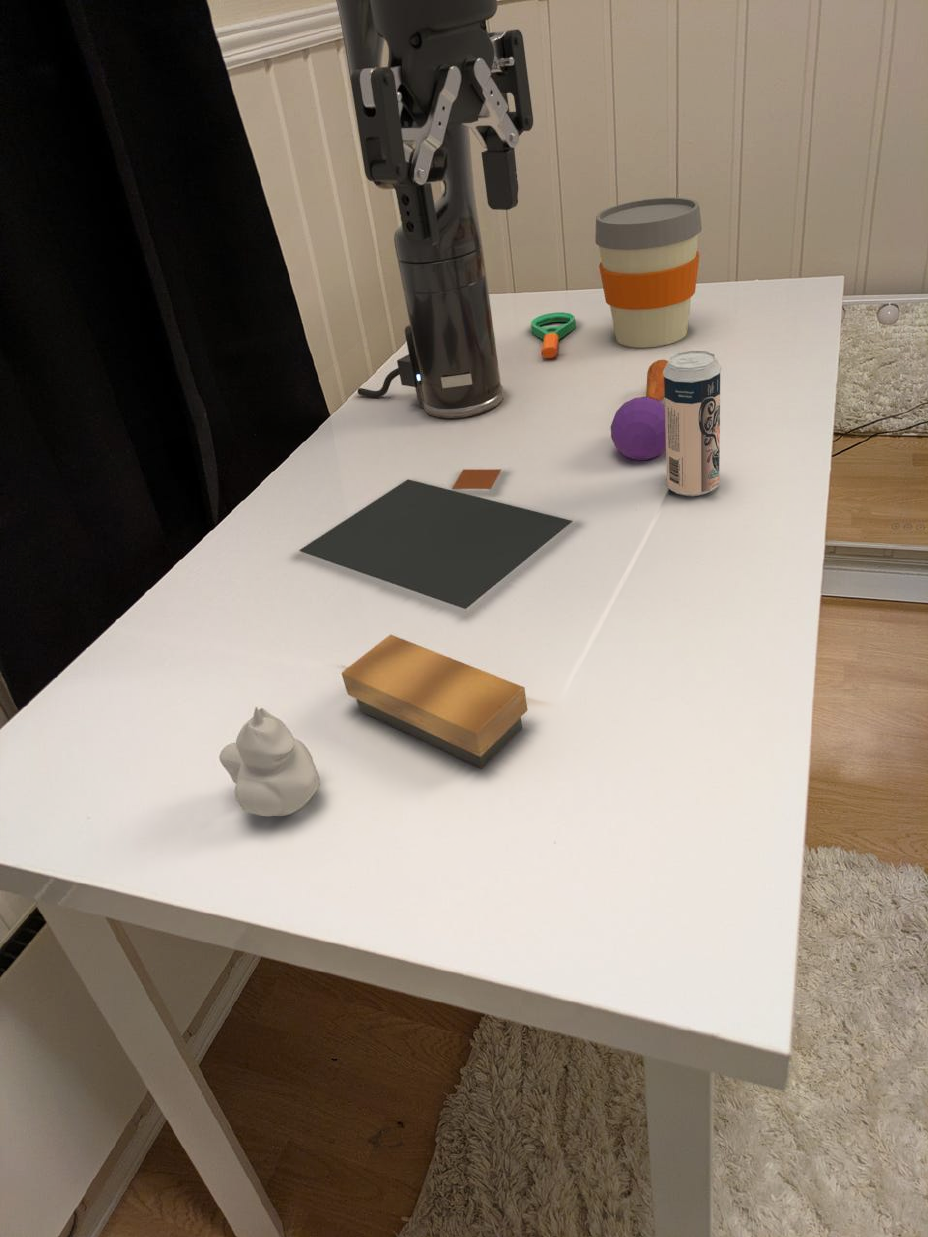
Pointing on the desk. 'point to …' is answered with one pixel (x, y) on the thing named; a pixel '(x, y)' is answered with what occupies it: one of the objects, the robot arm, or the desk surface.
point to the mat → (437, 541)
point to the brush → (437, 699)
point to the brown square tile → (476, 479)
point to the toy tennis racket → (552, 330)
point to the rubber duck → (270, 767)
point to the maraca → (643, 420)
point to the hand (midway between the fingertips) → (465, 226)
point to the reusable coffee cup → (649, 268)
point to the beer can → (692, 422)
